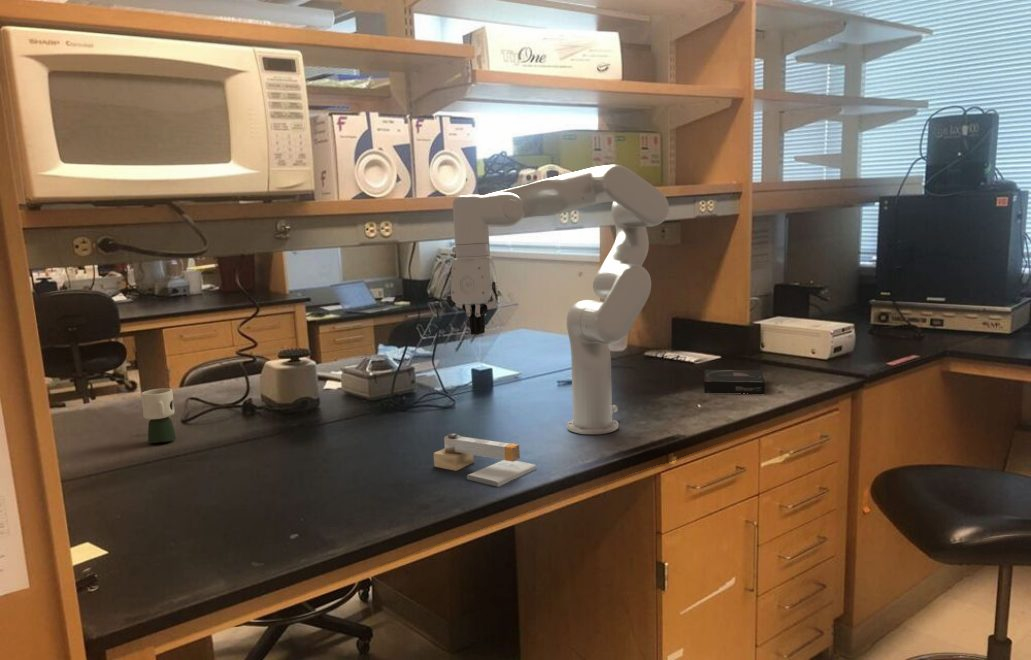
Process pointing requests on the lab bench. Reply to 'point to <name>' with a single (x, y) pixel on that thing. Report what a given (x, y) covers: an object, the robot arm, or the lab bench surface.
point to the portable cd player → (734, 381)
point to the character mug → (159, 414)
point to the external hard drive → (501, 472)
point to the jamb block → (452, 460)
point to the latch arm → (481, 447)
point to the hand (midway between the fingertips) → (477, 333)
